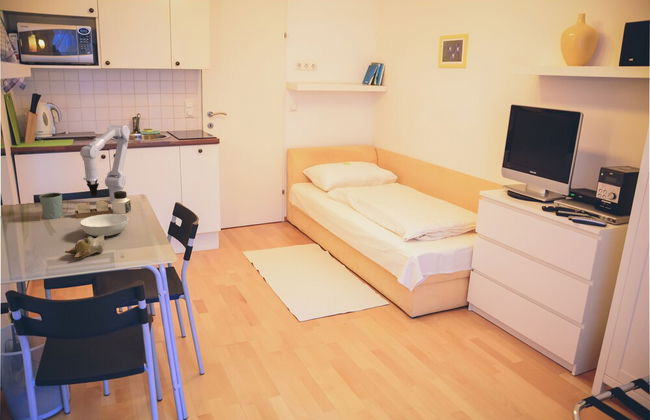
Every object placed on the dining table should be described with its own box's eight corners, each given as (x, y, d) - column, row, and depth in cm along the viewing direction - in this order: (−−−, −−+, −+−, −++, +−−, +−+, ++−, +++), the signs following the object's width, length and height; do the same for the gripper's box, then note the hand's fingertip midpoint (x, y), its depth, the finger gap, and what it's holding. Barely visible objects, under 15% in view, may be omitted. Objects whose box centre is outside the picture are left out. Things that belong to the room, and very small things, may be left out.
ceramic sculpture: (108, 234, 214) (70, 244, 204) (111, 253, 216) (75, 264, 206) (97, 228, 221) (61, 238, 211) (101, 247, 224) (65, 257, 214)
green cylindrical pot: (68, 215, 268) (65, 193, 264) (57, 221, 258) (53, 198, 254) (50, 214, 268) (47, 192, 265) (38, 220, 259) (34, 197, 255)
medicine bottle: (126, 215, 269) (124, 193, 265) (112, 215, 269) (110, 193, 266) (131, 211, 276) (129, 189, 272) (118, 211, 276) (116, 189, 272)
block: (97, 212, 269) (95, 201, 267) (108, 211, 271) (107, 200, 270) (97, 214, 266) (96, 203, 264) (109, 213, 268) (107, 202, 266)
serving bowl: (138, 229, 248) (137, 215, 246) (110, 243, 229) (108, 228, 227) (102, 225, 253) (100, 211, 251) (71, 238, 234) (69, 224, 232)
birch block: (78, 214, 265) (77, 203, 264) (90, 213, 268) (88, 202, 266) (78, 216, 262) (77, 205, 260) (90, 215, 264) (89, 204, 263)
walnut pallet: (75, 215, 268) (74, 209, 267) (111, 211, 275) (110, 206, 274) (76, 220, 259) (75, 215, 258) (112, 216, 266) (112, 211, 266)
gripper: (81, 167, 272) (84, 192, 276) (83, 172, 260) (86, 198, 264) (96, 166, 275) (99, 191, 279) (98, 171, 263) (101, 197, 267)
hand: (93, 194), depth 272 cm, fingers open, 7 cm apart
